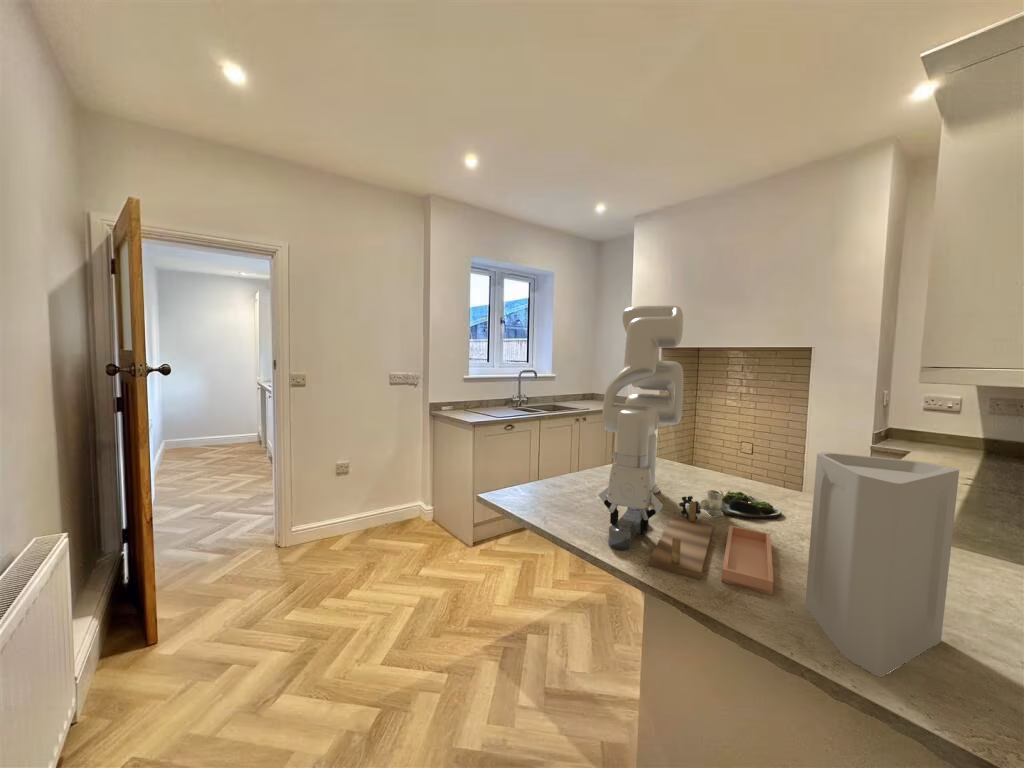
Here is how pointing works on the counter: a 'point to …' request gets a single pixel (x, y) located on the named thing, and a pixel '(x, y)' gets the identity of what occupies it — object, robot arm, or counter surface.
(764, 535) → the slot holder
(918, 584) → the paper bag
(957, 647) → the counter surface
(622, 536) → the grey long knobbed bar
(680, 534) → the board
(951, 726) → the counter surface
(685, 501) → the valve
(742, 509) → the salad plate
